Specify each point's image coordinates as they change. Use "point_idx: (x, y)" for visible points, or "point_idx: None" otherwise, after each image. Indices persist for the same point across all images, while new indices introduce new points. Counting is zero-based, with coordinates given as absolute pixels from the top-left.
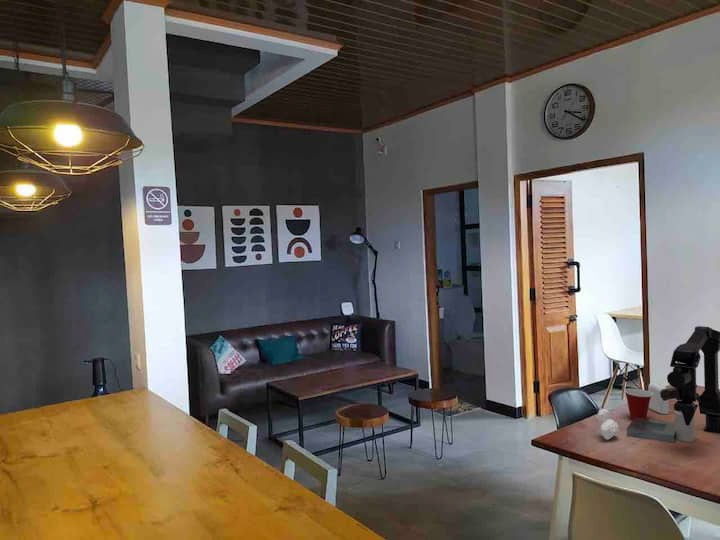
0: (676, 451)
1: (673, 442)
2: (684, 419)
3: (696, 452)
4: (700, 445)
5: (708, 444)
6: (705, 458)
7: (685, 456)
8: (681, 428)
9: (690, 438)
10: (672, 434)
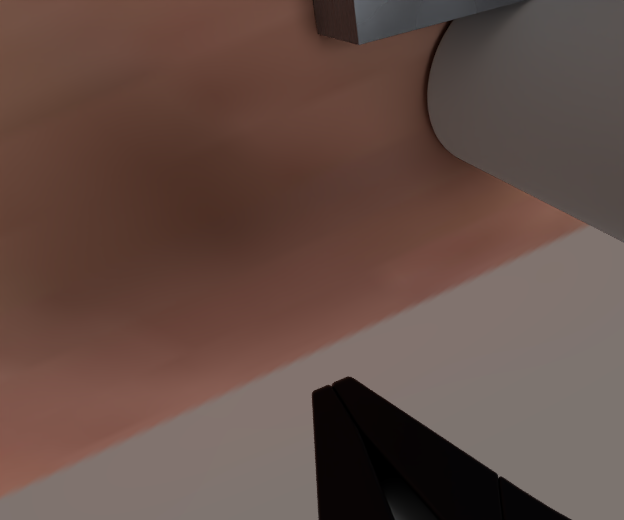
0: (84, 166)
1: (320, 34)
2: (318, 492)
3: (218, 291)
4: (410, 231)
5: (463, 256)
6: (130, 391)
7: (17, 289)
8: (521, 110)
9: (463, 159)
10: (395, 15)
